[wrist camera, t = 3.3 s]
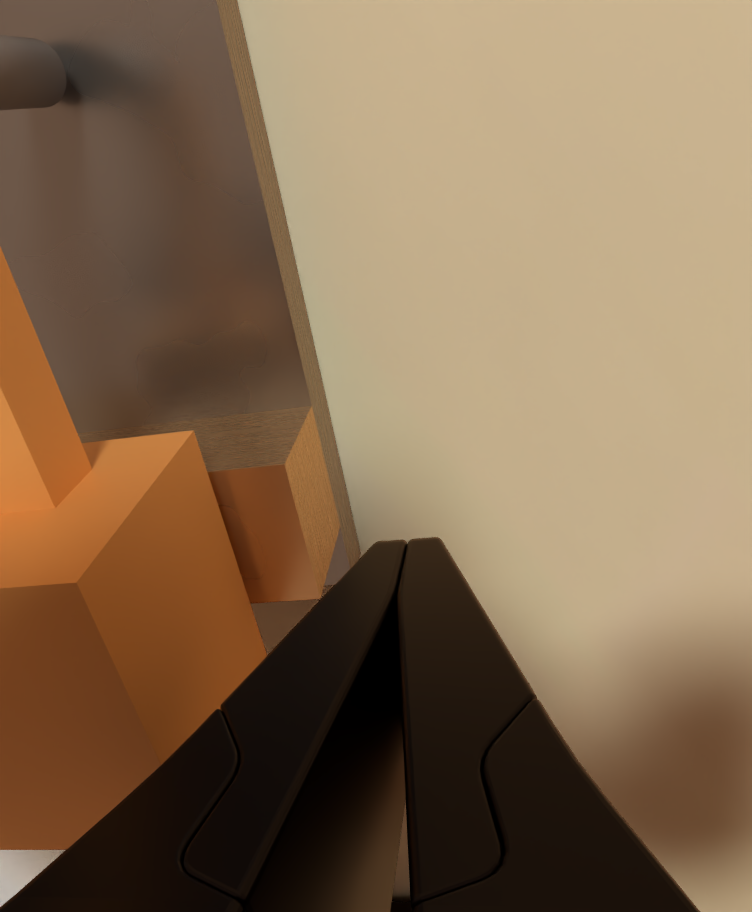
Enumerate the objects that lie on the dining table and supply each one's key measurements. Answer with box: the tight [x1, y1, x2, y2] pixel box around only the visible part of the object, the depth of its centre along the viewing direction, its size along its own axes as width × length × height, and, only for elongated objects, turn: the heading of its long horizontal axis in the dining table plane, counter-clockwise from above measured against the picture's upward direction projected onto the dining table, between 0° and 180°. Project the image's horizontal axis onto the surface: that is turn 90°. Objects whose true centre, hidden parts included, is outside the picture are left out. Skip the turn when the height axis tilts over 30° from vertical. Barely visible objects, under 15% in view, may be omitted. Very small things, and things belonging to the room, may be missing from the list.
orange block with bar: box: [0, 35, 267, 850], centre depth 9 cm, size 9×3×5 cm, turn 10°
